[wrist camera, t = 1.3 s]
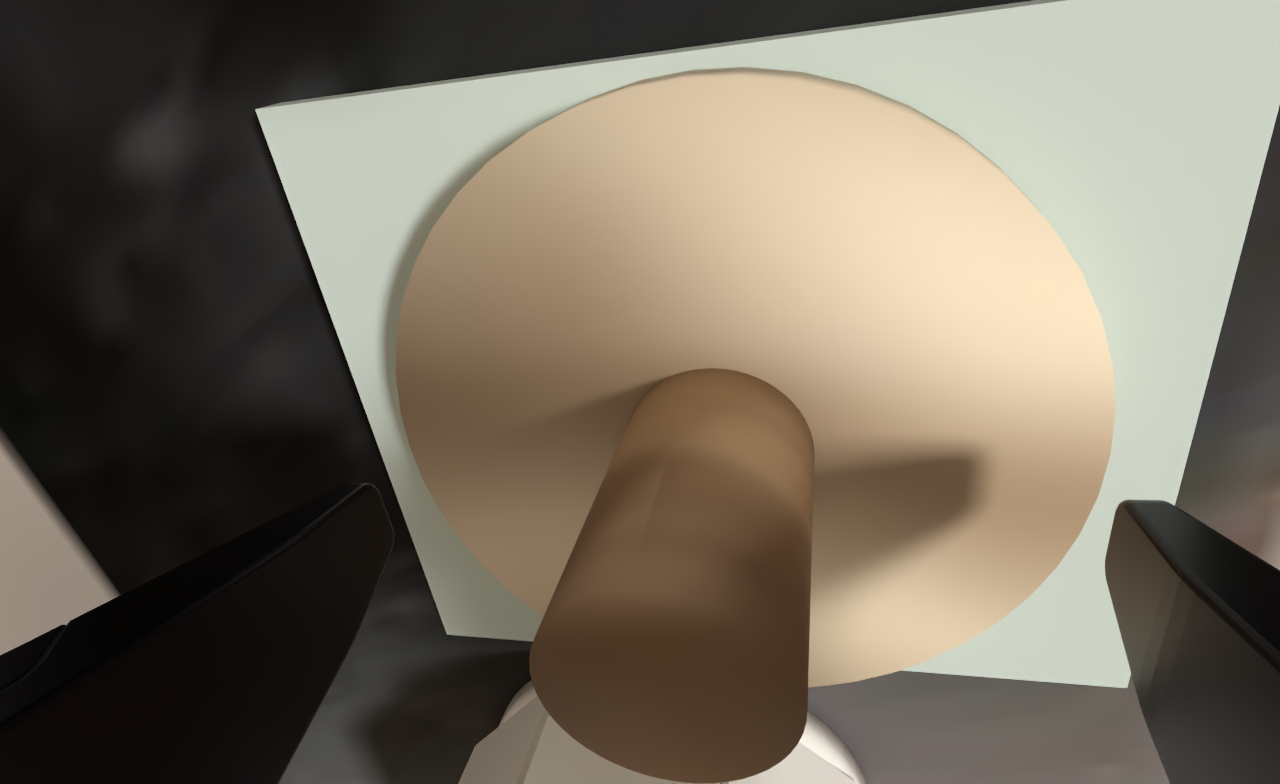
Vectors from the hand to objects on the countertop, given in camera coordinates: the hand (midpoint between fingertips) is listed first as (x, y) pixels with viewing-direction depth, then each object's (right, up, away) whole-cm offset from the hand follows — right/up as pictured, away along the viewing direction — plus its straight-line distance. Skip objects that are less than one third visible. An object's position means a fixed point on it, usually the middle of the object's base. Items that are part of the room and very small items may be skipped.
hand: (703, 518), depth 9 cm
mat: (+1, +1, +2) cm, 3 cm away
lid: (0, +1, +2) cm, 2 cm away
